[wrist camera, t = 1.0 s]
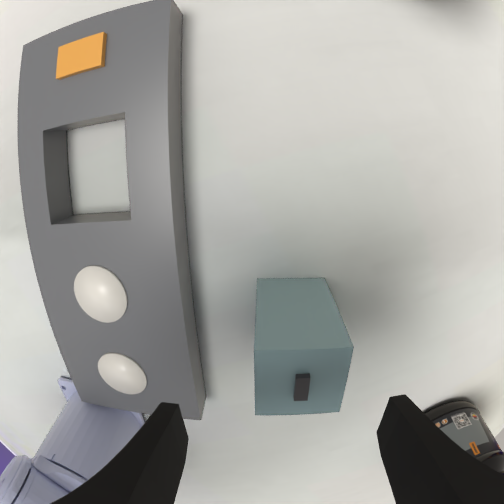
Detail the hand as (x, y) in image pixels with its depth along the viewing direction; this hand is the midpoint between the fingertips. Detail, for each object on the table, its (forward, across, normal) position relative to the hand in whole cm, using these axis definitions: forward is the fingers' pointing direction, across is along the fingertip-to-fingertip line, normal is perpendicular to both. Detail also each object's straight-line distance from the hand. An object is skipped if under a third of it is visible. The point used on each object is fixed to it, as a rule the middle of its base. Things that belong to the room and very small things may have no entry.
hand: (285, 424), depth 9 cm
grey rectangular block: (+10, -1, +1) cm, 10 cm away
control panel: (+10, +10, -4) cm, 15 cm away
